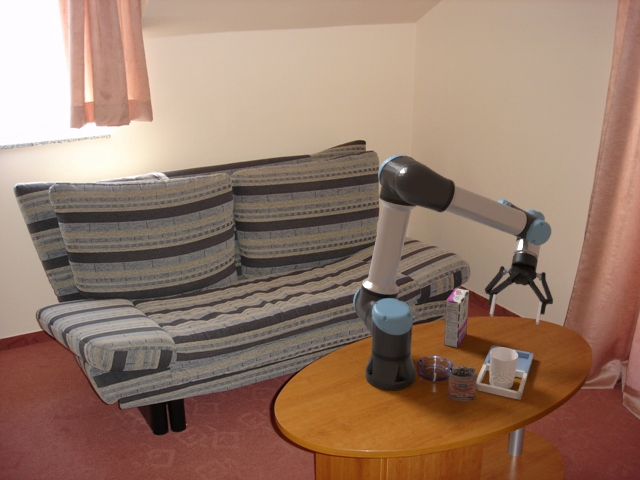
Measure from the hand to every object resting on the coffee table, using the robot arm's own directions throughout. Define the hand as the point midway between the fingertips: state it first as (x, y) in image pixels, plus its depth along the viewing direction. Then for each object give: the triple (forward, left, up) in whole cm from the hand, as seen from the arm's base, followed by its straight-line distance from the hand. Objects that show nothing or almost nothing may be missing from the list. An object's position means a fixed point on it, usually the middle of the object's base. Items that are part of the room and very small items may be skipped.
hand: (513, 319), depth 196 cm
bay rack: (0, -6, -15) cm, 17 cm away
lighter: (-9, -24, -16) cm, 30 cm away
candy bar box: (-19, +9, -16) cm, 26 cm away
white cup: (0, -12, -16) cm, 20 cm away
